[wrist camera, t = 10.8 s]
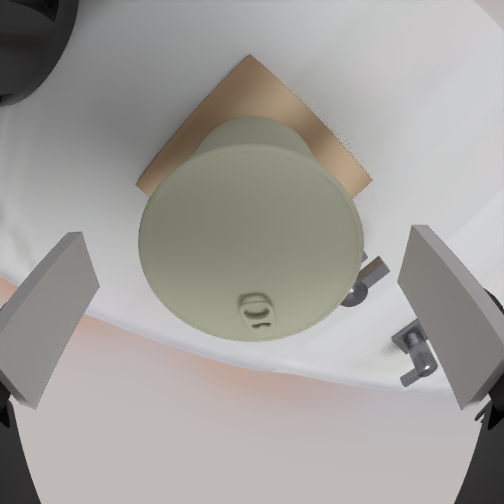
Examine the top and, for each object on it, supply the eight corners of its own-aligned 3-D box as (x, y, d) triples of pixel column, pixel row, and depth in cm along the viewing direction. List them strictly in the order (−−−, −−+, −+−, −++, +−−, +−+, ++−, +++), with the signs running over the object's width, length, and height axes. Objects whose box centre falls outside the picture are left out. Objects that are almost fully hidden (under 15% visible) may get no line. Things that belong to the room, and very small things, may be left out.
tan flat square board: (138, 181, 23) (135, 184, 22) (250, 55, 18) (249, 54, 17) (255, 276, 27) (255, 281, 26) (369, 177, 22) (372, 180, 22)
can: (206, 241, 24) (174, 357, 14) (178, 130, 20) (100, 177, 10) (320, 225, 24) (363, 335, 13) (307, 108, 19) (366, 129, 9)
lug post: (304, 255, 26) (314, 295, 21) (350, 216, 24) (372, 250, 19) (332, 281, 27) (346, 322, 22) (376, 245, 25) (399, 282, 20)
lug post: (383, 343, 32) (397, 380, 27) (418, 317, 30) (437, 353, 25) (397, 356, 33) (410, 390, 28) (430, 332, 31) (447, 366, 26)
